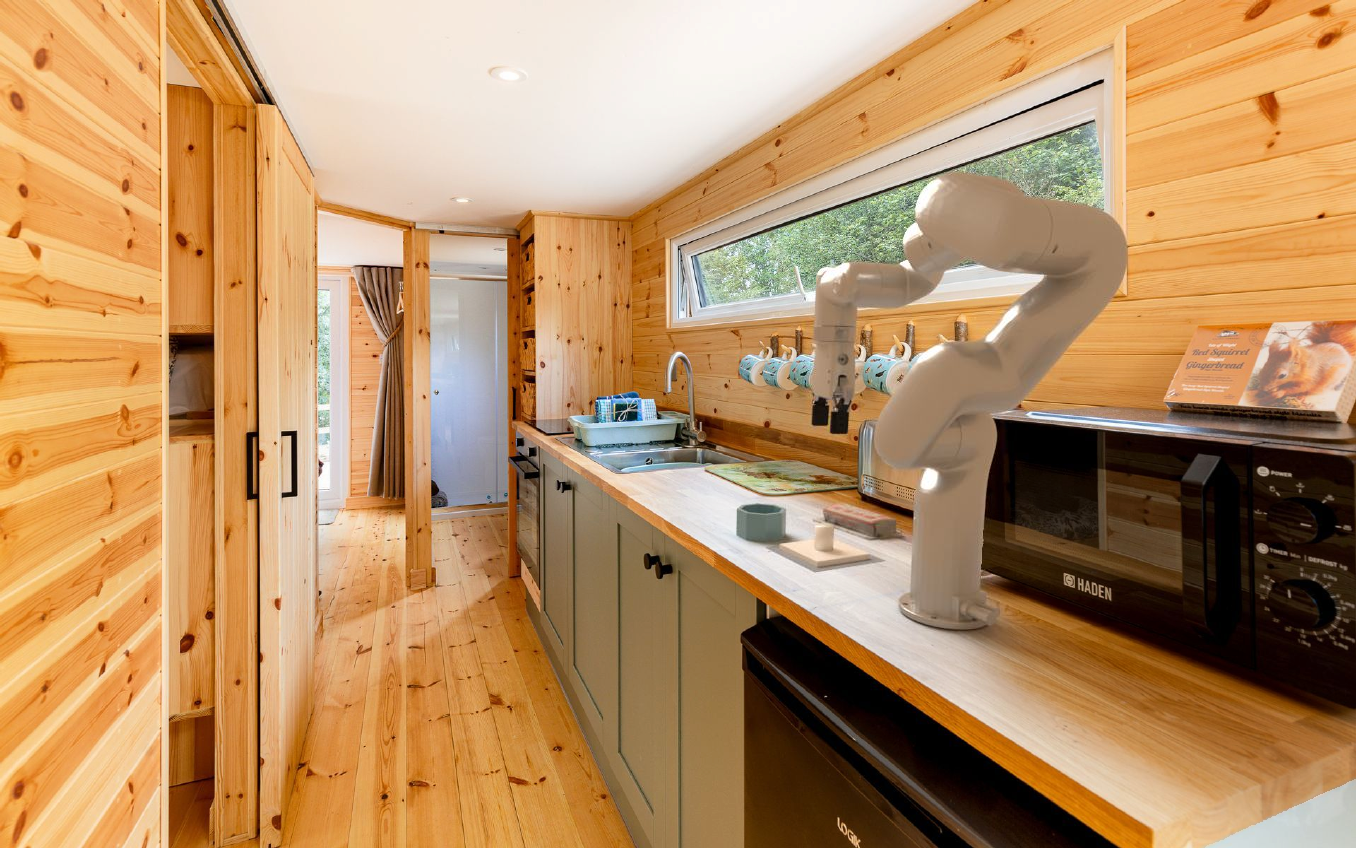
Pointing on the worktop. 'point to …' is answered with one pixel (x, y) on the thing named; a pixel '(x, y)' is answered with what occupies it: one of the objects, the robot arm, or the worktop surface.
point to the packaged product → (859, 522)
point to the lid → (824, 548)
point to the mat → (822, 568)
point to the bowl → (761, 522)
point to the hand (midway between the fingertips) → (828, 429)
